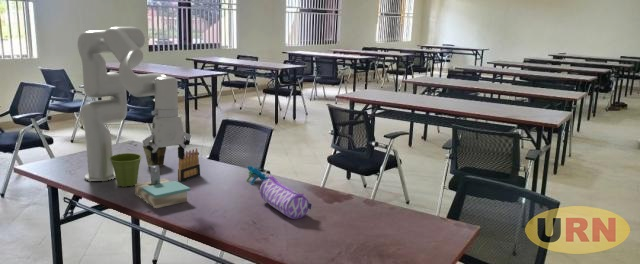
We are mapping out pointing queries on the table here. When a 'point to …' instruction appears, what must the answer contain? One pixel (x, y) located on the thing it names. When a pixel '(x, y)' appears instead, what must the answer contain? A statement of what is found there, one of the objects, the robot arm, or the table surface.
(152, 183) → the steel pin
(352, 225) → the table surface
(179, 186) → the teal square plate
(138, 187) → the block
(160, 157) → the ceramic cup
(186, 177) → the ammunition clip
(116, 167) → the plant pot
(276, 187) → the pencil case
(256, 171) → the gear
